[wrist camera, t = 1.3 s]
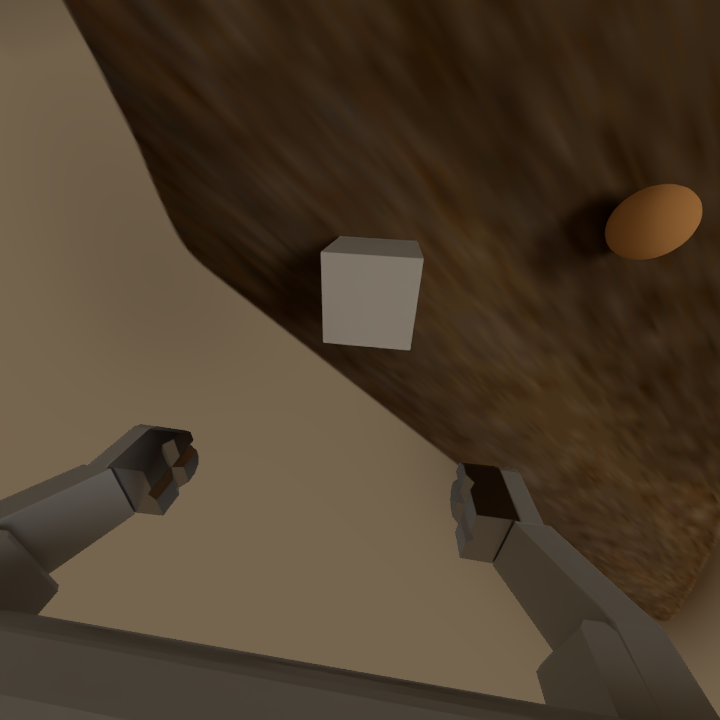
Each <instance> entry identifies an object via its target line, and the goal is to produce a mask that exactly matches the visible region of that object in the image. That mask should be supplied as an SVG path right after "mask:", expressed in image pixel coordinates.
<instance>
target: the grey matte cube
mask: <svg viewBox="0 0 720 720" xmlns="http://www.w3.org/2000/svg"><path fill="white" fill-rule="evenodd" d="M423 260H424V258H423V255H422V253H421V250H420V247H419V245H418V242H417V241H410V240H394V239H378V238H361V237H345V236H340V237H339V238H337V239H336V240H335V241H334V242H332V243H331V244H330V245H329V246H327V247H326V248H325V249H324V250H322V251H321V280H322V316H323V343H334V344H345V345H356V346H367V347H378V348H389V349H400V350H410V347H411V340H412V333H413V327H414V320H415V313H416V307H417V300H418V293H419V287H420V280H421V274H422V267H423Z"/></svg>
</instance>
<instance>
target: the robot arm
mask: <svg viewBox="0 0 720 720" xmlns="http://www.w3.org/2000/svg"><path fill="white" fill-rule="evenodd" d="M192 441H193V438H192V435H191V432H189V431H185V430H178V429H171V428H165V427H158V426H149V425H142V424H141V425H138V426H135V427H133V428H132V429H131V430H130V431H128V432H127V433H126V434H125V435H123V436H122V437H121V438H120V439H119V440H117V441H116V442H115V443H114V444H113V445H111V446H110V447H109V448H108V449H107V450H105V451H104V452H103V453H102V454H101V455H99V456H98V457H97V458H96V459H95V460H93V461H92V462H91V463H90V464H89V465H81V466H79V467H76V468H74V469H72V470H69V471H67V472H65V473H62V474H60V475H58V476H55V477H53V478H51V479H49V480H46V481H44V482H42V483H39V484H37V485H35V486H32V487H30V488H28V489H25V490H23V491H21V492H18V493H16V494H14V495H12V496H9V497H7V498H5V499H3V500H0V720H720V718H719V716H718V715H717V713H716V711H715V710H714V708H713V707H712V705H711V704H710V702H709V700H708V699H707V697H706V696H705V694H704V693H703V691H702V689H701V688H700V686H699V685H698V683H697V681H696V680H695V678H694V677H693V675H692V673H691V672H690V670H689V669H688V667H687V666H686V664H685V662H684V661H683V659H682V658H681V656H680V654H679V653H678V651H677V650H676V648H675V647H674V645H673V643H672V642H671V640H670V638H669V637H668V635H667V634H666V632H665V631H664V629H663V628H661V627H660V626H659V625H658V624H657V623H656V622H655V621H654V620H653V619H652V618H650V617H649V616H648V615H647V614H646V613H645V612H644V611H643V610H642V609H641V608H640V607H638V606H637V605H636V604H635V603H634V602H633V601H632V600H631V599H630V598H629V597H627V596H626V595H625V594H624V593H623V592H622V591H621V590H620V589H619V588H618V587H617V586H615V585H614V584H613V583H612V582H611V581H610V580H609V579H608V578H607V577H606V576H604V575H603V574H602V573H601V572H600V571H599V570H598V569H597V568H596V567H595V566H593V565H592V564H591V563H590V562H589V561H588V560H587V559H586V558H585V557H584V556H583V555H581V554H580V553H579V552H578V551H577V550H576V549H575V548H574V547H573V546H572V545H570V544H569V543H568V542H567V541H566V540H565V539H564V538H563V537H562V536H561V535H560V534H558V533H557V532H556V531H555V530H554V529H553V528H552V527H551V526H547V525H544V524H543V522H542V520H541V518H540V515H539V513H538V511H537V509H536V507H535V505H534V503H533V501H532V499H531V496H530V494H529V492H528V490H527V488H526V486H525V484H524V482H523V479H522V477H521V475H520V473H519V471H518V470H516V469H515V468H505V467H495V466H488V465H479V464H469V463H460V464H459V465H458V468H457V471H456V472H457V478H458V479H457V480H456V481H454V482H453V484H452V489H451V499H450V501H451V511H452V516H453V518H454V519H455V520H456V521H457V523H458V526H457V529H456V532H455V533H456V539H457V544H458V549H459V555H460V558H465V559H471V560H477V561H483V562H489V563H494V564H493V566H494V567H495V569H496V570H497V572H498V573H499V574H500V576H501V577H502V578H503V580H504V582H505V583H506V584H507V586H508V587H509V589H510V590H511V592H512V593H513V594H514V595H515V597H516V599H517V600H518V601H519V603H520V604H521V606H522V607H523V609H524V610H525V611H526V613H527V614H528V616H529V617H530V618H531V620H532V621H533V623H534V624H535V626H536V627H537V628H538V630H539V631H540V633H541V634H542V635H543V637H544V638H545V639H546V641H547V643H548V644H549V646H550V647H551V648H552V650H553V652H552V653H551V654H550V655H549V656H548V658H547V659H546V660H545V661H544V662H543V663H542V664H541V665H540V667H539V668H538V670H537V675H538V679H539V682H540V685H541V689H542V693H543V696H544V699H545V703H546V705H545V704H539V703H533V702H528V701H522V700H516V699H511V698H505V697H499V696H493V695H487V694H482V693H477V692H471V691H465V690H459V689H454V688H448V687H442V686H436V685H431V684H426V683H419V682H414V681H409V680H403V679H397V678H391V677H386V676H380V675H374V674H369V673H363V672H357V671H352V670H346V669H340V668H335V667H329V666H323V665H318V664H312V663H306V662H301V661H295V660H289V659H284V658H278V657H272V656H267V655H261V654H255V653H250V652H244V651H238V650H233V649H227V648H221V647H215V646H210V645H204V644H198V643H193V642H187V641H182V640H176V639H170V638H164V637H159V636H153V635H148V634H141V633H136V632H131V631H124V630H119V629H114V628H107V627H102V626H97V625H91V624H85V623H80V622H74V621H68V620H62V619H57V618H51V617H45V616H39V615H38V614H39V613H40V611H41V610H42V609H43V608H44V607H45V606H46V604H47V603H48V602H49V601H50V600H51V599H52V597H53V596H54V595H55V594H56V593H57V592H58V584H57V583H56V582H55V581H54V580H53V579H52V577H51V576H50V575H49V573H51V572H52V571H53V570H55V569H57V568H58V567H59V566H61V565H62V564H64V563H65V562H67V561H68V560H69V559H71V558H72V557H74V556H75V555H76V554H78V553H80V552H81V551H82V550H84V549H85V548H87V547H88V546H89V545H91V544H92V543H94V542H95V541H96V540H98V539H100V538H101V537H102V536H104V535H105V534H107V533H108V532H110V531H111V530H113V529H114V528H115V527H117V526H118V525H120V524H121V523H122V522H124V521H125V520H127V519H128V518H130V517H131V516H132V515H134V514H135V513H134V512H137V513H146V514H155V515H164V514H165V512H166V511H167V509H168V508H169V507H170V506H171V504H172V503H173V502H174V500H175V499H176V498H177V497H178V495H179V487H181V486H182V485H184V484H185V483H187V482H189V480H190V479H191V478H192V476H193V475H194V474H195V471H196V468H197V466H198V453H197V450H196V449H194V448H193V447H192V446H191V443H192Z"/></svg>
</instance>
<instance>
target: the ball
mask: <svg viewBox="0 0 720 720" xmlns="http://www.w3.org/2000/svg"><path fill="white" fill-rule="evenodd" d="M701 217H702V205H701V201H700V199H699V197H698V196H697V195H696V194H695V193H694V192H693V191H692V190H690V189H688V188H686V187H684V186H680V185H675V184H662V185H655V186H652V187H648V188H645V189H643V190H640V191H638V192H636V193H634V194H632V195H631V196H629V197H628V198H627V199H625V200H624V201H623V202H622V203H620V204H619V205H618V206H617V207H616V209H615V210H614V211H613V212H612V214H611V215H610V217H609V219H608V221H607V224H606V228H605V239H606V242H607V244H608V246H609V248H610V249H611V250H612V251H613V252H614V253H616V254H617V255H619V256H621V257H624V258H628V259H634V260H643V259H651V258H655V257H658V256H661V255H664V254H666V253H669V252H671V251H672V250H674V249H676V248H677V247H679V246H680V245H682V244H683V243H684V242H685V241H686V240H688V239H689V237H690V236H691V235H692V234H693V233H694V231H695V230H696V228H697V227H698V225H699V223H700V220H701Z"/></svg>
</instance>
